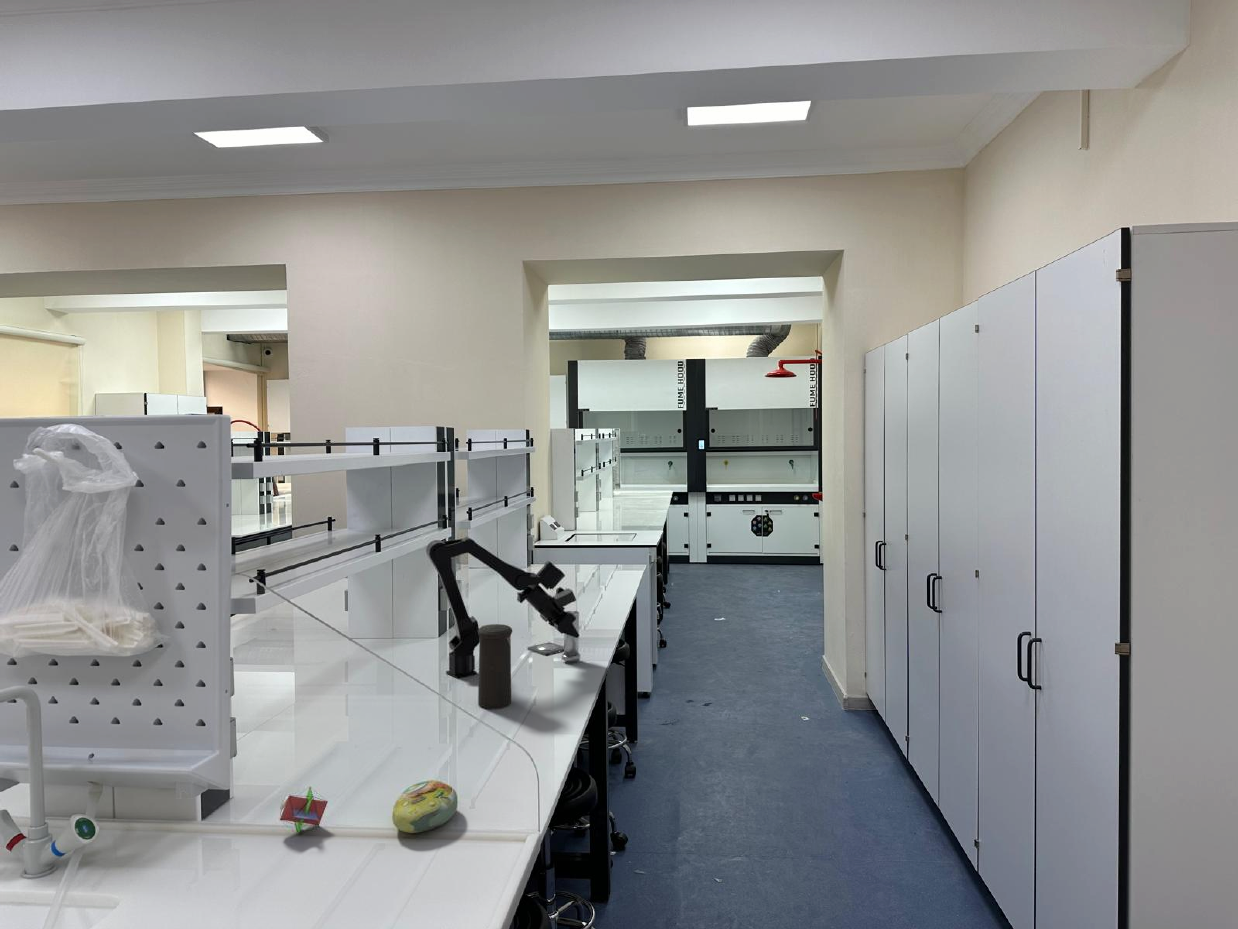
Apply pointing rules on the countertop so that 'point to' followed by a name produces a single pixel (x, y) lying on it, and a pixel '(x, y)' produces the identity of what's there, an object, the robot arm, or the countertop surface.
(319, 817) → the geometric puzzle
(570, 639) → the sleeve
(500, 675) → the container
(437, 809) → the cell model
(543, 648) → the base plate
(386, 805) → the countertop surface
